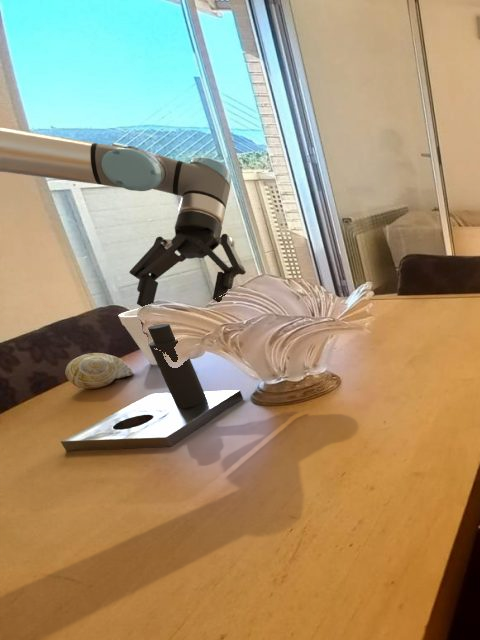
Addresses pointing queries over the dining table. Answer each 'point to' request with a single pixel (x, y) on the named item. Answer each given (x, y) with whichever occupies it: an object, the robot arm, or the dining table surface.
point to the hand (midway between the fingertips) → (182, 304)
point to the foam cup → (137, 333)
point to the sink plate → (151, 423)
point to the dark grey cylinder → (175, 369)
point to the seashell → (96, 370)
